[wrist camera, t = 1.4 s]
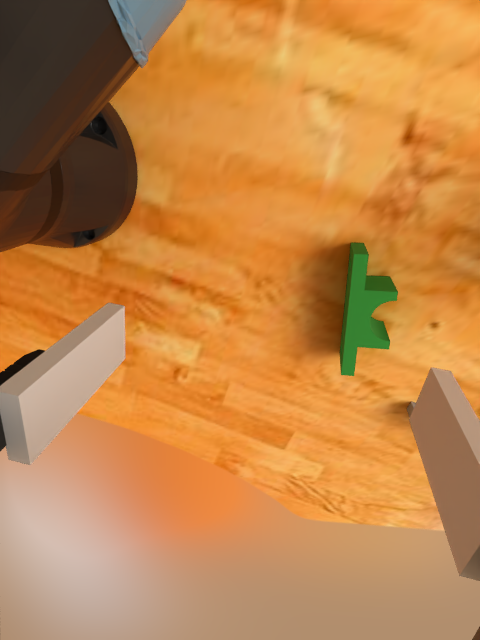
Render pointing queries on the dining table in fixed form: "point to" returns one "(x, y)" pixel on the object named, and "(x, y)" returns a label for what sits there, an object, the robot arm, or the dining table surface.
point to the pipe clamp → (363, 309)
